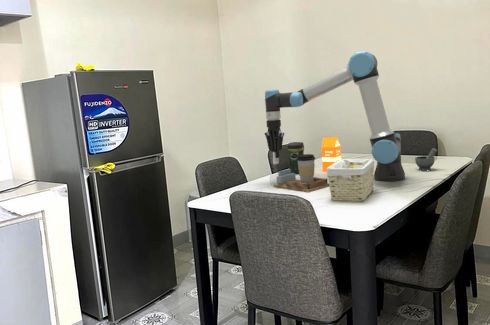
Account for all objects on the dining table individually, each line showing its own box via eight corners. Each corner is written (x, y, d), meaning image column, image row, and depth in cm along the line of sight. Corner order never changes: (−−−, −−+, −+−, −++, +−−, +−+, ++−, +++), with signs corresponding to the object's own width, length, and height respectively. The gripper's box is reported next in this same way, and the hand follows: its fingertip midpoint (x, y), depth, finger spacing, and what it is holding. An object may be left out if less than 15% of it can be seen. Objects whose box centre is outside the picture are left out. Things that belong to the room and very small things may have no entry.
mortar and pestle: (413, 171, 231) (412, 149, 230) (417, 168, 239) (417, 147, 237) (435, 172, 225) (435, 149, 223) (439, 168, 233) (438, 147, 231)
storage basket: (364, 202, 176) (363, 167, 174) (326, 201, 183) (324, 167, 181) (376, 189, 196) (375, 158, 194) (341, 189, 204) (340, 158, 202)
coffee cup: (316, 186, 207) (314, 156, 205) (297, 187, 209) (295, 157, 207) (317, 182, 216) (315, 153, 214) (298, 183, 218) (296, 154, 216)
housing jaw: (295, 180, 226) (295, 168, 225) (280, 183, 219) (280, 172, 218) (291, 179, 229) (290, 168, 228) (276, 183, 222) (276, 171, 221)
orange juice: (336, 172, 247) (334, 137, 244) (322, 171, 253) (320, 138, 250) (341, 169, 253) (340, 136, 250) (328, 169, 259) (326, 136, 256)
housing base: (330, 186, 212) (329, 178, 211) (308, 192, 202) (308, 184, 201) (295, 181, 230) (294, 174, 230) (273, 187, 220) (273, 180, 220)
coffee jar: (307, 171, 256) (305, 141, 253) (302, 174, 249) (300, 142, 246) (292, 171, 260) (290, 141, 257) (287, 174, 253) (285, 143, 251)
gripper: (259, 120, 227) (262, 163, 230) (276, 120, 217) (279, 165, 220) (270, 119, 231) (272, 161, 235) (287, 118, 221) (289, 163, 225)
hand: (276, 163), depth 228 cm, fingers closed
